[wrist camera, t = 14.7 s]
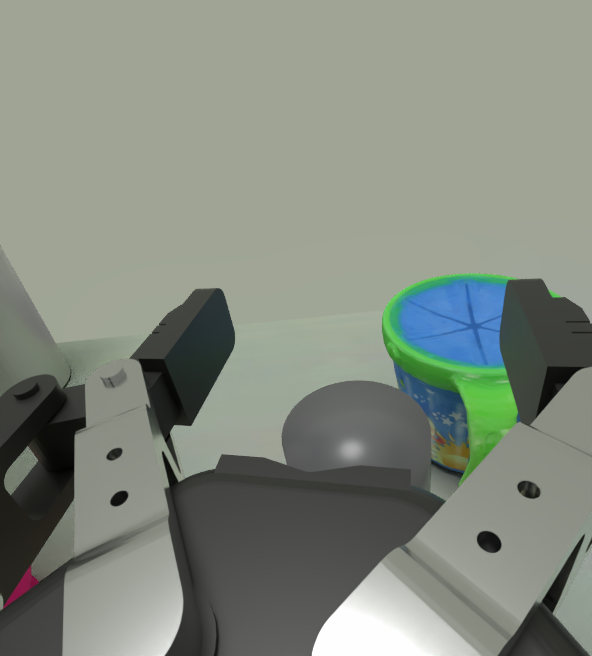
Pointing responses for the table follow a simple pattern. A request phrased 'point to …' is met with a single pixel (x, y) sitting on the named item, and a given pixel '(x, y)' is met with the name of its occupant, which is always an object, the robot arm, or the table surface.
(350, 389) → the orange grey cylinder
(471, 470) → the snack cup
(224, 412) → the table surface
